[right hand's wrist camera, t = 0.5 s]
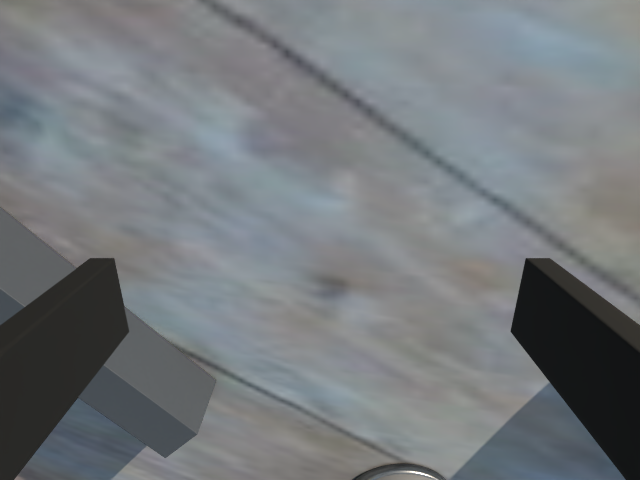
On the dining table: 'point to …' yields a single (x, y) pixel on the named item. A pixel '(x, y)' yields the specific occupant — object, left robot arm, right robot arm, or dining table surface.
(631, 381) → the right robot arm
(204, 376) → the beam
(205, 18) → the dining table surface
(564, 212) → the dining table surface
